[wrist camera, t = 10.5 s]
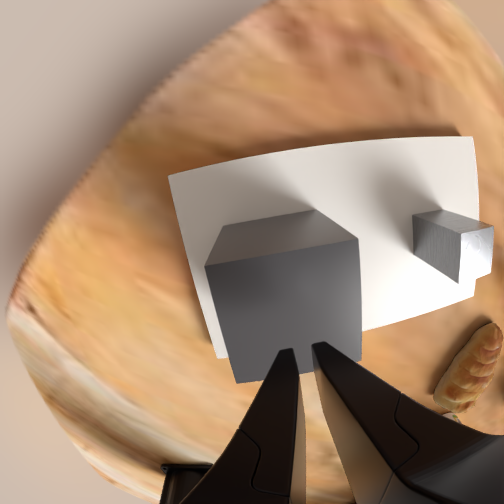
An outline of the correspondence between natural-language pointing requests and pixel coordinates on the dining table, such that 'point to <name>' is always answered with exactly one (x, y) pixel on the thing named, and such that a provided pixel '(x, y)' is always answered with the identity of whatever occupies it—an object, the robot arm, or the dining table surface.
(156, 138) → the dining table surface
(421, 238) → the steel post
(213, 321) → the board
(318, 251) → the dark gray block
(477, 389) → the pastry
